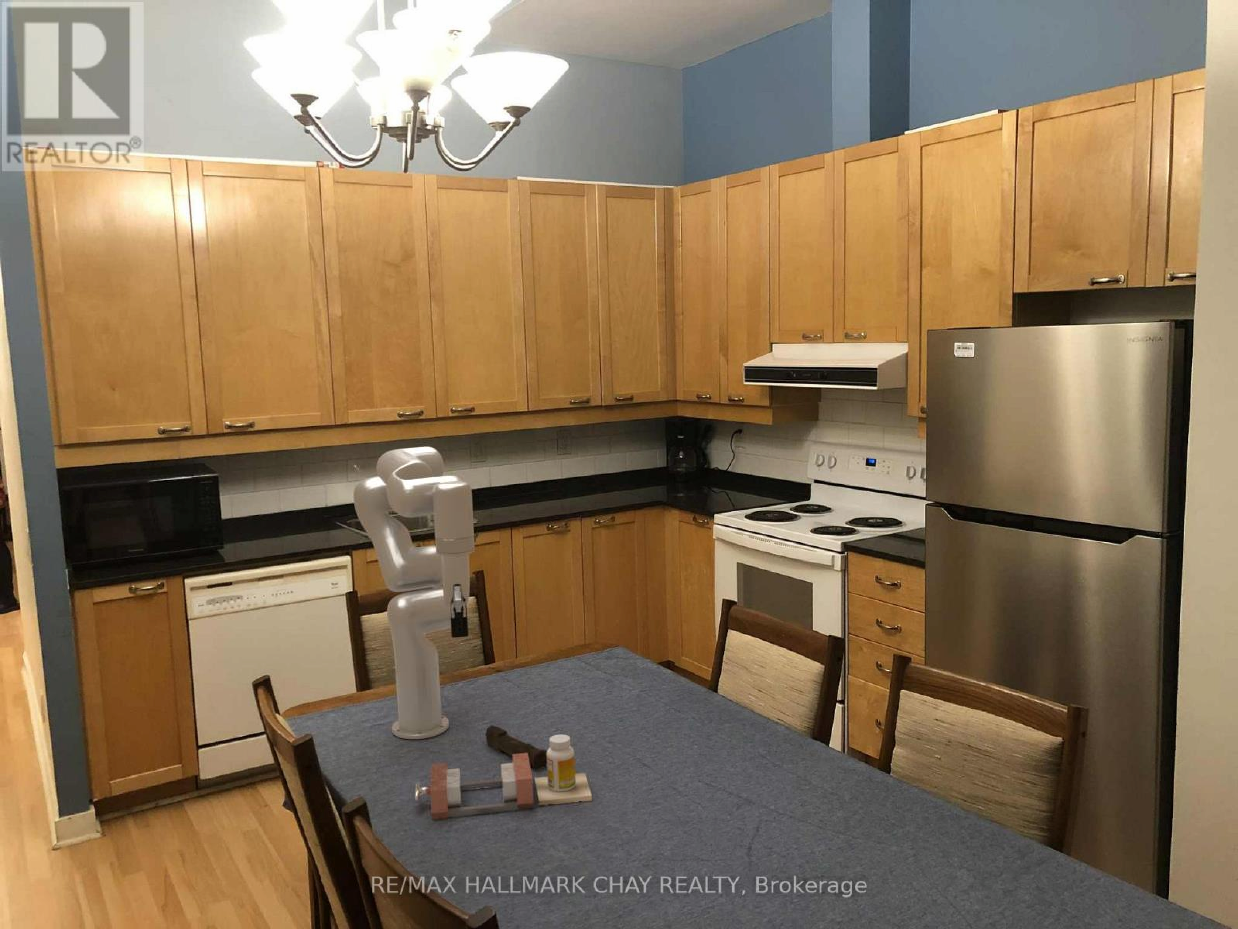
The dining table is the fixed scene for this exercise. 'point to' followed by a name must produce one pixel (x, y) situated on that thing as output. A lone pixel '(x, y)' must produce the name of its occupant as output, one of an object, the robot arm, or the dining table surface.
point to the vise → (449, 788)
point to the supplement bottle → (560, 764)
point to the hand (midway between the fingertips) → (459, 629)
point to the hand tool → (515, 746)
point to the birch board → (554, 797)
